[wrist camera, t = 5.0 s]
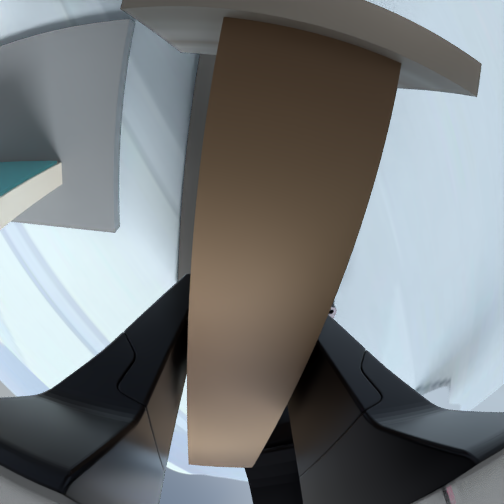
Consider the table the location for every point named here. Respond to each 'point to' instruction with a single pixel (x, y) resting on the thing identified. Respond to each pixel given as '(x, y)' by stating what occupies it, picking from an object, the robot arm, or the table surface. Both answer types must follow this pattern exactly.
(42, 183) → the tile
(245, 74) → the light brown wooden bar
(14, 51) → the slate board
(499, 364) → the table surface
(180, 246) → the rest
